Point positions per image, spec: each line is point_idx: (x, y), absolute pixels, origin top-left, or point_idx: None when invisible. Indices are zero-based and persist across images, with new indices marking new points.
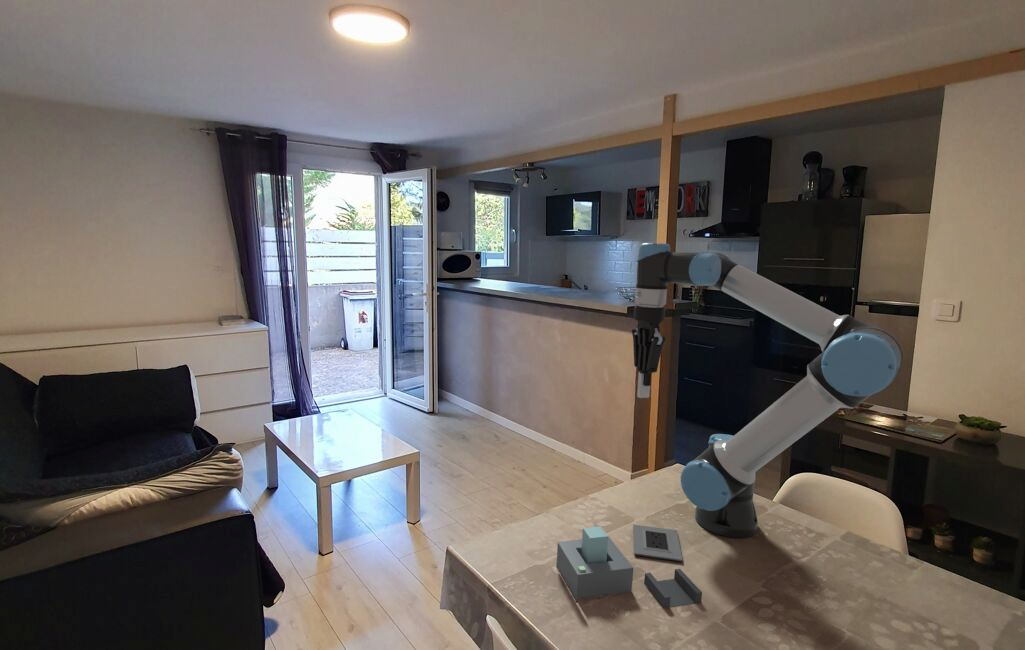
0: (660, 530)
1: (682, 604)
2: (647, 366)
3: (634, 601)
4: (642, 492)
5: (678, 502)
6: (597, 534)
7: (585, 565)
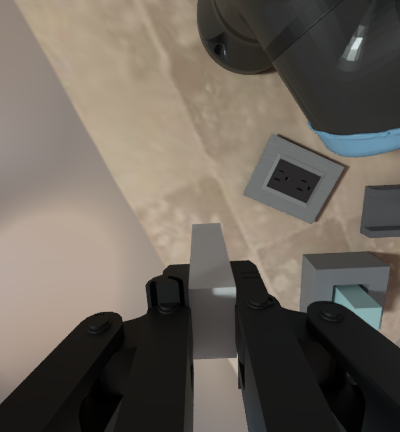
0: (267, 161)
1: None
2: (339, 414)
3: (378, 252)
4: (123, 120)
5: (166, 68)
6: (373, 318)
7: None
